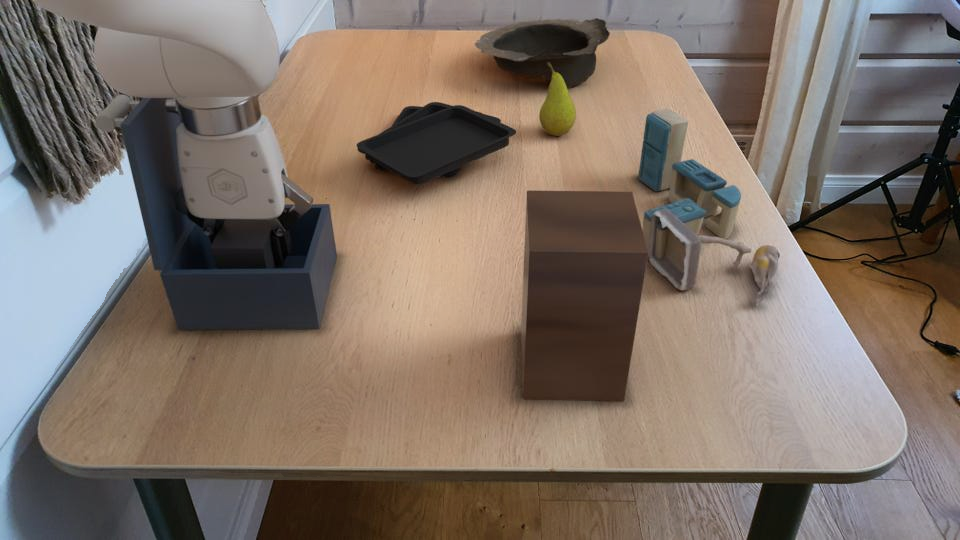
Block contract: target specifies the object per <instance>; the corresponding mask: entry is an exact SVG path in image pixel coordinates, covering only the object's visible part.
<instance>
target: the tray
mask: <svg viewBox="0 0 960 540" xmlns="http://www.w3.org/2000/svg"><path fill="white" fill-rule="evenodd" d="M516 134H517V130H516V129H515V128H513V127H511V126H509V125H507V124H504V123H503V122H502V120H501V119H500V118H499V117H497V116H493V115H489V114H487V113H483V112H482V111H481V112H480V111H476V110H474V109H472V108H470V107H467V106H465V105H462V104H455V105H451V104H447V103H445V102H439V101H432V102H429V103H426V104H425V105H423V106H421V105H420V106H419V105H408V106H405V107H404V108H403V109H401V111H400V113H399V114H398V116H397V117H396V119H395V120H394V122H393V123H392V124H391V126H389V127H388V128H386V129H385V130H382V132H380V133H377V134H376V135H373V136H371V137H368V138H366V139H363V140H361V141H359V142H357V143H356V148H357V152H358V153H361V154H364V158H365V160H366V161H368V162H369V163H371V164H374V167H375V170H378V171H381V172H391V173H393V174H394V175H396V176H398V177H399V178H401V179H403V180H404V181H406V182H408V183H410V184H413V185H423V184H426V183H428V182H430V181H433V180H435V179H437V178H454V177H456V176H457V175H458V173H459V171H460V169H461V168H462V167H464V166H466V165H468V164H471V163H473V162H475V161H477V160H480V159H481V158H484V157H486V156H488V155H490V154H493V153H495V152H497V151H499V150H501V149H504V148H506V147H508V146H509V145H510V138H511V137H513V136H515V135H516Z"/></svg>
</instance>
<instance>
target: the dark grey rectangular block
mask: <svg viewBox="0 0 960 540" xmlns="http://www.w3.org/2000/svg"><path fill="white" fill-rule="evenodd" d="M272 234H273V230H272V228H271V227H270V225H269V224H268V222H267V221H266V219H265V220H245V219H225V221H224V223H223V225H222V227H221V228H220V230H219V232H218V234H217V235H216V237H215V239H214V241H213V243H212V244H211V246H210V251H211V255H213V257H214V260H215V264H216V268H217V269H277V268H278V265H276V262H275V257H274V252H273V248H272V243H271V236H272Z"/></svg>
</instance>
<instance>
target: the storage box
mask: <svg viewBox="0 0 960 540" xmlns="http://www.w3.org/2000/svg"><path fill="white" fill-rule="evenodd" d="M293 205H295V203H292V204H291V203H290V204H289V203H288V204H285V206H284V208H285V209H286V211H287V210H288V209H289V208H290V207H291V206H293ZM221 220H222V221H225V219H221ZM333 226H334V225H333V219H332V211H331V205H330V203H312V206H311V208H310V209H309V210H308V211H307V212H306V213H305V214H303V215H302V216H301V217H300V218H299V219H298V220H297V221H296V222H295V223H294V224H293V225H292V226H291V227H290V228H289V234H290V239H291V244H292V251H291V254H290V255H287V257H286V260H285V262H284V265H283V266H278V268H277V269H217V268H216V264H215V260H214V257H213V255H211V251H210V246H211V241H210V237H209V235H206V234H204V233H203V228H201V227H200V226H198V225H197V224H195V223H194V222H193V221H191V220H190V221H189V223H188V225H187V227H186V228H185V230H184V232H183V234H182V235H181V237H180V239H179V241H178V243H177V244H176V246H175V248H174V250H173V252H172V253H171V255H170V257H169V259H168V261H167V262H166V264H165V266H164V268H163V269H162V270H160V273H159V276H160V279H161V282H162V285H163V288H164V291H165V294H166V297H167V300H168V303H169V307H170V309H171V312H172V315H173V318H174V322H175V325H176V328H177V330H178V331H222V330H223V331H226V330H227V331H228V330H230V331H231V330H232V331H233V330H238V331H239V330H315V329H317V330H320V329H321V324H322V320H323V316H324V312H325V309H326V305H327V300H328V296H329V292H330V288H331V283H332V280H333V277H334V272H335V268H336V263H337V259H338V254H337V245H336V239H335V233H334V227H333Z"/></svg>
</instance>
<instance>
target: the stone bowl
mask: <svg viewBox="0 0 960 540" xmlns="http://www.w3.org/2000/svg"><path fill="white" fill-rule="evenodd" d="M606 25H607V22H606V21H605V19H600V18H597V17H595V18H593V19H585V20H583V21H580V20H577V19H539V20H528V21H520V22H517V23H511V24H508V25H504V26H502V27H498V28H496V29H494V30H491V31H488V32H486V33H484V34H482V35H480V37H479V39H477V40H476V42H475V43H474V46H475V47H476V48H477V49H479V50H480V53H482V54H485V55H491V56H493V59H494V61H495V63H496V65H497V67H498V68H499V69H500V70H503V71H505V72H508V73H510V74H515V75H516V76H518V75H519V76H525V77H527V76H528V77H532V78H539V77H544V78H545V79H546V80H548V81H549V80H550V81H551V80H552V70H551V68H550V67H549V66H548V65H547V62H549V63H550V64H551V66H552V68H553V70H554V72H557V73H559V74H560V75H561V76H562V78H563V80H564V82H565V84H566V87H567V90H568V89H571V88H572V87H576V86H578V85H580V84H583V83H585V82H587V80H588V79H589V78H590V77H592V76H593V75H594V73H595V70H596V65H597V55H596V51H597V49H598V46H600V45H602V44H604V43H605V42H606V41H608V39H609V38H610V36H611V32H610V31H609V30H608V29H607V28H608V27H607V26H606Z"/></svg>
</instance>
